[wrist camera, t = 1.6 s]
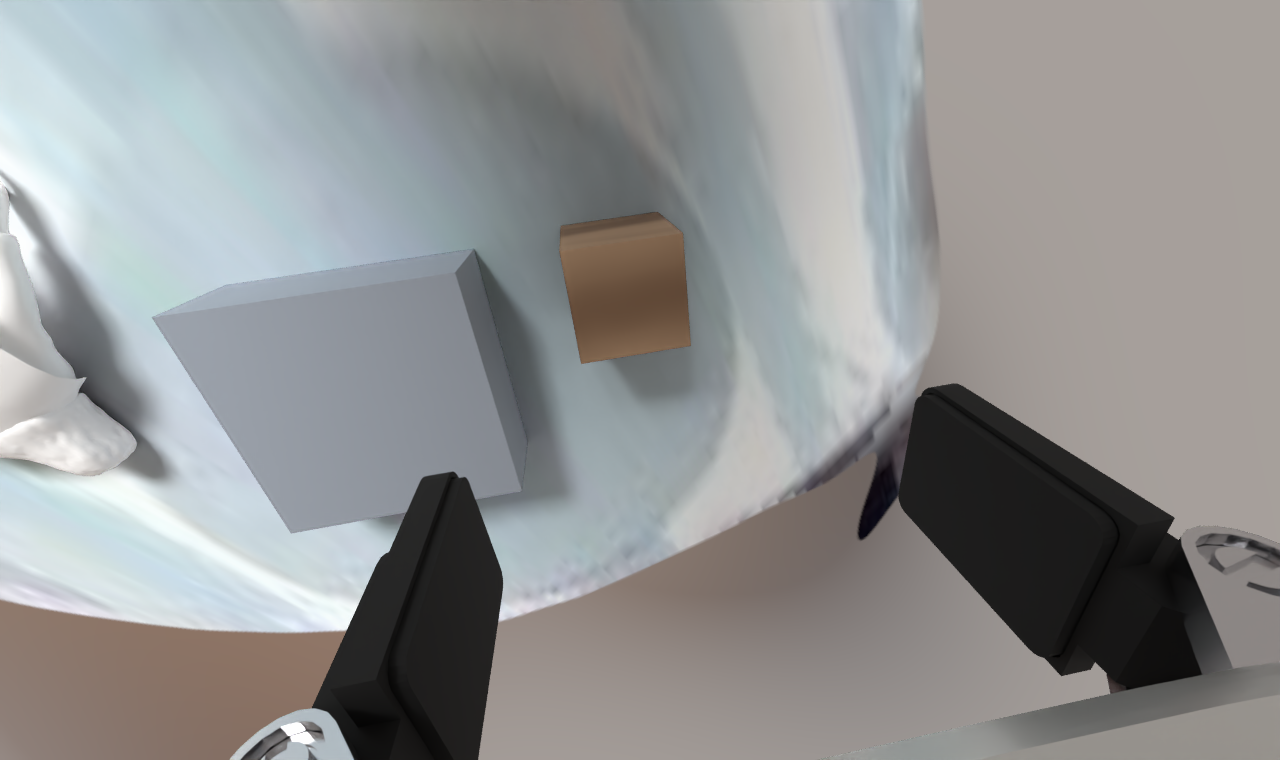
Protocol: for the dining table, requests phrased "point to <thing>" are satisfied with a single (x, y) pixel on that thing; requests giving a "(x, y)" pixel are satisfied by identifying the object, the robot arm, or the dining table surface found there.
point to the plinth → (357, 384)
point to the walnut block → (626, 286)
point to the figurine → (45, 383)
